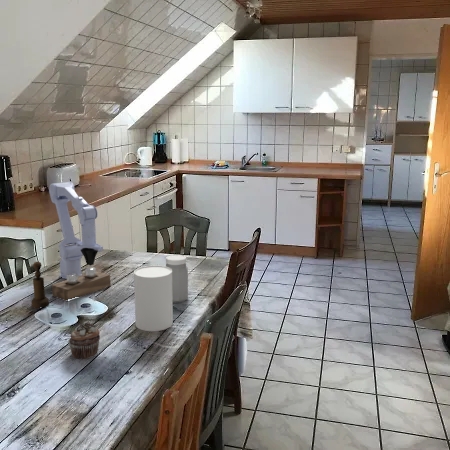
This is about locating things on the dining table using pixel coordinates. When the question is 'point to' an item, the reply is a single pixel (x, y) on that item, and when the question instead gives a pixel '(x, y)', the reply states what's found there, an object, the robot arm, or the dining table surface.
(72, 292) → the walnut frame
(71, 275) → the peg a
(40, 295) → the dark brown tall piece
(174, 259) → the jar
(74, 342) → the cupcake
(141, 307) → the canister
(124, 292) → the dining table surface
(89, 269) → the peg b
